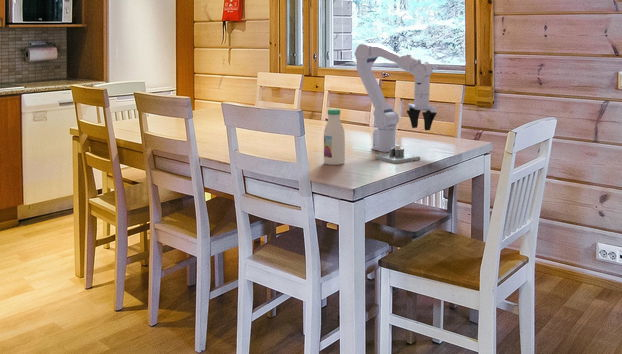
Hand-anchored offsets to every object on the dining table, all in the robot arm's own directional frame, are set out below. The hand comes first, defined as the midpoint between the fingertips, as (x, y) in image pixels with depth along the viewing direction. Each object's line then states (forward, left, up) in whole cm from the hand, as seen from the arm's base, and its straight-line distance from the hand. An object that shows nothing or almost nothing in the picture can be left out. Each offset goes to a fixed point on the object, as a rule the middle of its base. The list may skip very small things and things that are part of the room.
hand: (421, 128), depth 252 cm
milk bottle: (-4, -38, -10) cm, 40 cm away
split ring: (+3, -14, -9) cm, 17 cm away
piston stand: (+3, -14, -10) cm, 17 cm away
